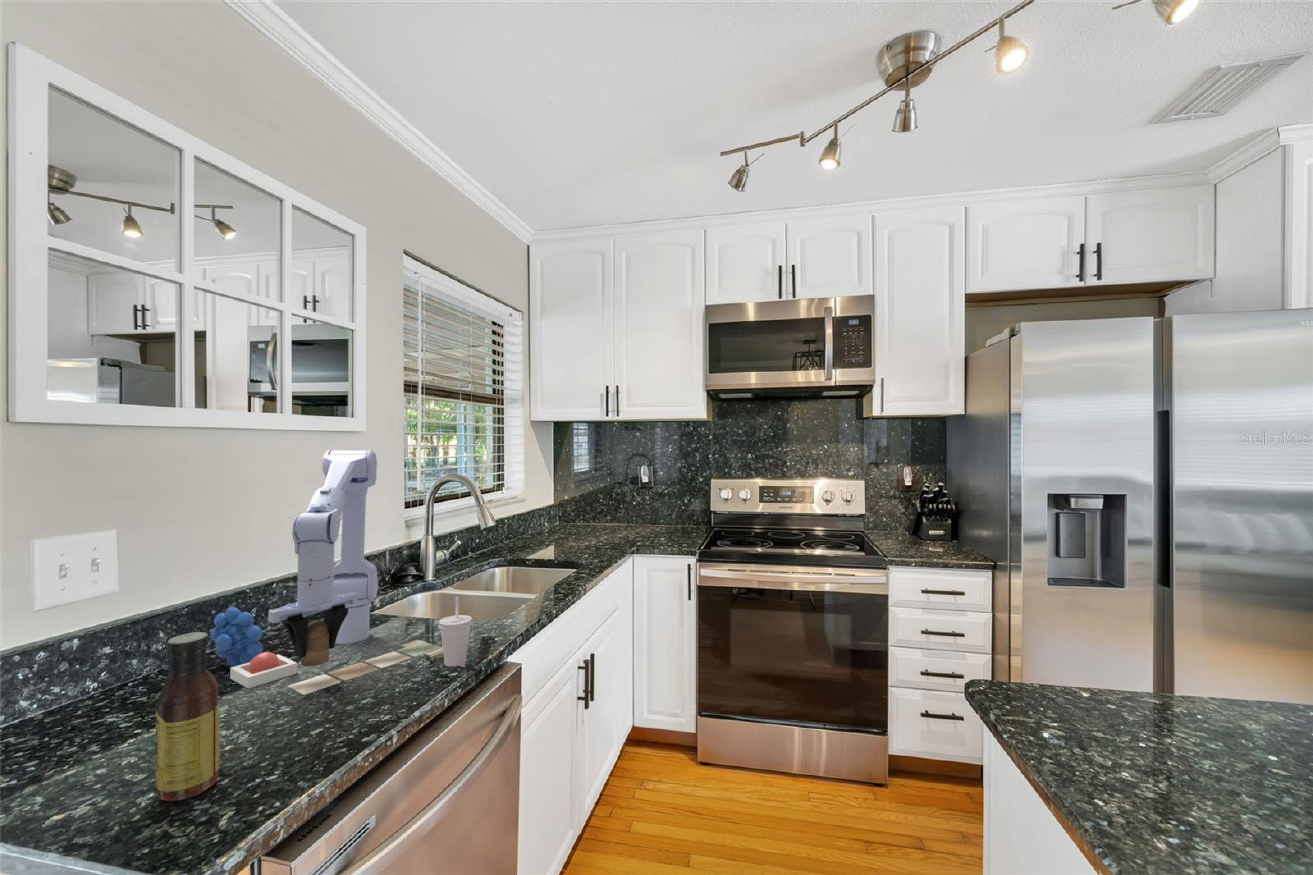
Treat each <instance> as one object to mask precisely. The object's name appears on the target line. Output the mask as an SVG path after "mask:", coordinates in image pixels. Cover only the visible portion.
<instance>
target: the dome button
mask: <svg viewBox="0 0 1313 875" xmlns="http://www.w3.org/2000/svg"><path fill="white" fill-rule="evenodd" d="M276 655H277V654H275V653H273V652H271V651H270V652H268V651H266V652H262V653H261V654H259V655H257V656H255V657H254V658H253V659H252V661H251V662H250V664H249V668H248V672H249V673H251V674H255V673H259V672H262V671H265V670H269V669H272V668H276V667H279V664H280V663H279V658H278V657H277V656H276Z"/></svg>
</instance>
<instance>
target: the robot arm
mask: <svg viewBox="0 0 1313 875" xmlns="http://www.w3.org/2000/svg"><path fill="white" fill-rule="evenodd" d="M377 462H378V461H377V454H376V452H375V451H374V450H373V449H368V450H367V449H366V450H363V449H361V450H348V449H347V450H333V449H328V450H327V451H326V452H324V454H323V457H322V463H321V464H322V472H323V474H324V476H325V482H324V485H323V486H322V487H320V488H318V489H317V490H315V492H314V493H313V496H312V497H311V500H310V502H309V503H308V505H307V508H306V510H305V512H302V513H301V514H300V515H296V517H295V518H294V520H293V524H292V529H291V530H292V532H291V533H292V540H293V543H294V552H295V555H297V593H296V596H297V598H296V600H297V601H296V602H293V603H290V604H287V605H284V606H281V607H277V608H274V609H269V610H268V613H267V614H268V620H267V621H268V623H272V624H277V623H280V622H281V623H282V625H283V626H284V627H285V630H286V631H287V633H288V635H289V637H290V640H291V643H292V646H293V648H294V654H295V656H296V657H297V658H300V659H301V658H302V657H305V654H306V633H307V627H308V624H309V623H310V621H309V620H307V619H305V617H304V616H305V615H310V614H314V613H319V612H322V616H323V617H322V618H323V622H324V623H326V625H327V626H328V632H329V650H332V649H335V645H336V644H337V645H349V644H355V643H358V642H362V641H365V640H367V639H369V638H370V619H371V618H370V616H371V615H370V614H371V613H370V612H371V611H370V610H371V609H370V608H371V607H370V606H371V605H370V604H371V602H372V601H375V600H374V599H375V598H376V597H377V595H378V590H379V580H378V569H377V567H376V565H374V564H373V562H370V561H369V560H367V559H366V558H365V539H366V538H365V534H366V509H367V508H366V507H367V506H366V505H367V494H368V489H369V488H371V487H373V486H374V485H376V482H377V468H378V467H377V466H378V465H377V464H378V463H377ZM341 515H342V516H341ZM341 517H342V518H341ZM340 527H341V543H340V544H341V547H340V561H339V562H337V563H336V564H335V543H336V542H337V541H338V539H339V538H338V537H339V533H340Z"/></svg>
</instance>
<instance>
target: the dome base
mask: <svg viewBox="0 0 1313 875" xmlns="http://www.w3.org/2000/svg"><path fill="white" fill-rule="evenodd" d="M275 655H276V656H277V657H278V658H279V663H280V664H279V667H276V668H272V669H269V670H265V671H262V672H259V673H255V674H251V673H249V672H248V668H249V664H250V662H249V663H246V664H242V665H238V666H235V667H231V666H230V669H229V671H230V674H229V679H230V680H232V681H234V682H236V683H237V684H240V685H241V686H243V687H245V688H246V689H248V690H249V689H252V688H255V687H259V686H261V685H264V684H268V683H271V682H274V681H277V680H280V679H283V678H287V677H290V676H293V675H296V674H298V662H296V661H294V660H291V659H289V658H287V657H285V656H283V655H281V654H279V653H278V654H275Z"/></svg>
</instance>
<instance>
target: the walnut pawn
mask: <svg viewBox="0 0 1313 875" xmlns="http://www.w3.org/2000/svg"><path fill="white" fill-rule="evenodd" d="M329 660H330V649H329V632H328V626H327V625H326V623H324V620H313V621H311V622H310V621H309V623H308V627H307V633H306V654H305V657H302V658H300V665H301V666H303V667H314V666H315V667H316V666H319V665H323V664H325V663H327V662H328V661H329Z"/></svg>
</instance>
